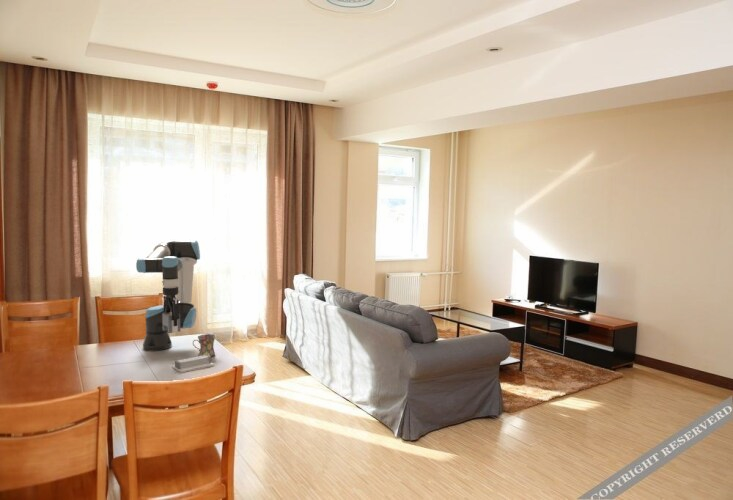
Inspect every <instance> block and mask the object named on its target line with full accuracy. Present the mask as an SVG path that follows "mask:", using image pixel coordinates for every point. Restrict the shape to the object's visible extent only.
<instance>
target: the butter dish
mask: <svg viewBox="0 0 733 500" xmlns="http://www.w3.org/2000/svg"><path fill="white" fill-rule="evenodd" d="M214 366H215V364H214V363H213V362H212V356H209V355H207V354H205V355H203V356H199V355H198V356H193V357H188V358H184V359H178V360H177V359H175V360H174V364H172V365H171V368H172V369H174V370H175V371H177V372H179V373H180V374H182V373H187V372H191V371H196V370H201V369H205V368H210V367H214Z"/></svg>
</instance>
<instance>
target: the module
mask: <svg viewBox="0 0 733 500" xmlns="http://www.w3.org/2000/svg"><path fill="white" fill-rule="evenodd" d="M179 317H180V314H179ZM162 319H163V331H164V330H168V334H173V333H175V332H173V333H172V320H171V319H172V313H171V312H167V313H162ZM180 332H181V329H180V318H179V319H178V332H177V333H180Z"/></svg>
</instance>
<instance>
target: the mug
mask: <svg viewBox="0 0 733 500" xmlns="http://www.w3.org/2000/svg"><path fill="white" fill-rule="evenodd" d="M216 338H217V335H216V334H209V333H206V334H199V335H198V336H197V339H194V340H192V346H194V348H196V349H197V350H198V352H199V354H198V356H203V355H205V354H207V355H209V356H211V357H213V356H215V355H216V351H215V349H214V348H215V347H214V343H215V341H216V340H215V339H216ZM195 341H197V342H198V344H199V345H200V348H199V347H196V345H195V344H194V342H195Z"/></svg>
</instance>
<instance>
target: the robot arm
mask: <svg viewBox="0 0 733 500" xmlns="http://www.w3.org/2000/svg"><path fill="white" fill-rule="evenodd" d="M200 251H201V250H200V245H199V242H198V240H193V239H192V240H191V239H170V240H165V241H163V242H161V243H159V244H157V245H156V246H155V247H154V248H153V250H152V252H151V253H149V255H148V256H147V257H146V258H145V257H143V258H140V257H139V258H137V259H136V264H135V268H136V271H137V273H142V274H147V273H150V274H152V273H159V274H160V273H162V274H161V275H162V280H161V284H162V295H163V305H161V304H160V305H156V306H155V305H154V306H151V307H149V308H147V309H146V311H145V337H144V340H143V343H142V349H143V350H145V351H153V352H154V351H156V352H157V351H163V350H167V349H170V348H172V346H173V345H172V344H173V343H172V339H171V337H170V335H169V334H170V333H168V330H164V331H163V319H162V313H167V312H171V313H172V319H171V320H172V333H171V334H173V332H174V333H179V332H178V319H179V318H180V330H181V329H182V330H183V329H184V330H185V329H191V328H192V329H193V327H194V325H195V323H196V320H197V308H196V307H195V306H194V304H193V303H192V299H193V298H192V296H193V284H194V269H195V268H194V267H195V265H196V264H197V262H198V260H200V259H201V252H200ZM179 314H180V317H179Z"/></svg>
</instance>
